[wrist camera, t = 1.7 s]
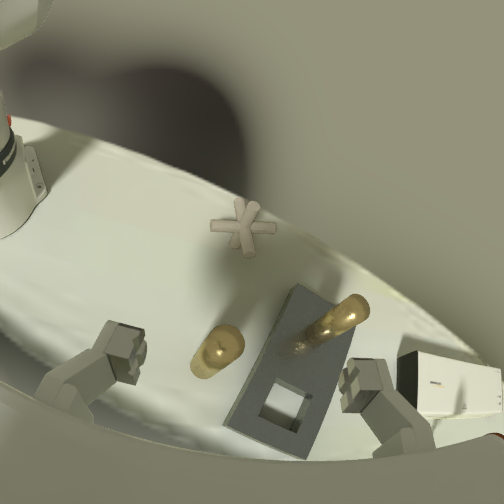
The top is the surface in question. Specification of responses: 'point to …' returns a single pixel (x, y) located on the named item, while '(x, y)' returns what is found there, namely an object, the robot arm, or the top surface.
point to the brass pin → (217, 351)
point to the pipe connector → (243, 226)
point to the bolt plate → (298, 368)
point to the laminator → (449, 386)
